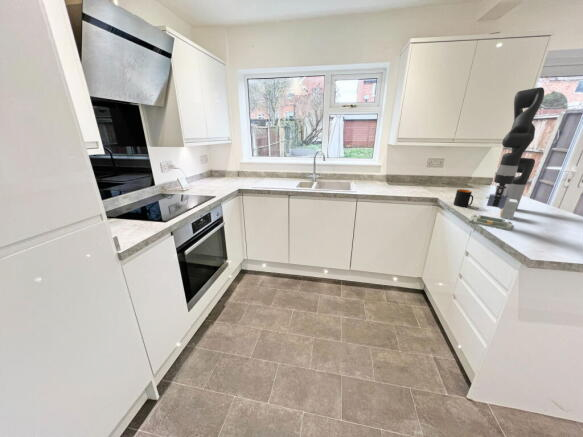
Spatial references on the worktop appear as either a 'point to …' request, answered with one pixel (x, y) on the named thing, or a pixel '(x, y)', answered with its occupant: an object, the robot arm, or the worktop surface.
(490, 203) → the servo
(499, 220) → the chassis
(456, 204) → the mug
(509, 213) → the small box
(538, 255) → the worktop surface
